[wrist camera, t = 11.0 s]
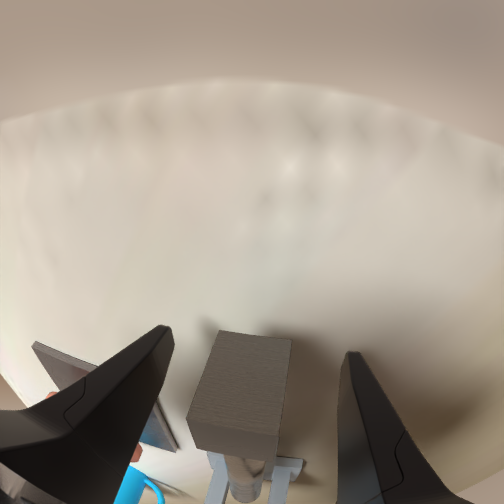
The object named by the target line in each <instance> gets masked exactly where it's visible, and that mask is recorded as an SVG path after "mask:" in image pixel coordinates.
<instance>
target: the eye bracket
mask: <svg viewBox="0 0 504 504" xmlns="http://www.w3.org/2000/svg"><path fill="white" fill-rule="evenodd" d="M278 441H279V436H278V440H277V444H276V448H275V453H274V457H273V462H266V465H265V470H264V476H263V480H271V479H272V483H271V489H270V494H269V499H268V504H286V498H287V492H288V485H289V481H292V482H295V480H296V478H297V477H298V475H299V473H300V471H301V469H302V464H303V459H295V458H285V457H276V453H277V447H278ZM207 456H208V459H209V462H210V465H211V468H212V469H214V472H213V475H212V479H211V482H210V485H209V489H208V492H207V496H206V499H205V502H204V504H225V501H226V497H227V493H228V489H229V486H230V485H229V480H228V476H227V471H226V466H225V461H224V456H223V454H219V453H214V452H210V451H207Z"/></svg>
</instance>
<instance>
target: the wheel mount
mask: <svg viewBox="0 0 504 504" xmlns="http://www.w3.org/2000/svg"><path fill="white" fill-rule="evenodd" d="M31 347H32V349H33V350H34V352H35V354H36V355H37V357H38V358H39V360H40V362H41V363H42V365H43V366H44V368H45V369H46V371H47V372H48V374H49V375H50V377H51V378H52V380H53V381H54V383H55V384H56V386H57V387H58V388H59V390H60V391H61V390H63V389H65V388H66V387H68V386H70V385H71V384H73V383H74V382H76V381H77V380H79V379H80V378H82V377H83V376H86V374H88V373H89V372H91V371H92V370H94V369H95V368H97V367H98V366H95V365H92V364H89V363H87V362H84V361H81V360H79V359H76V358H74V357H71V356H69V355H66V354H64V353H61V352H59V351H57V350H54V349H52V348H50V347H47V346H45V345H43V344H41V343H38V342H36V341H35V343H34V344H33V345H32V346H31ZM139 441H140V442H143V443H146V444H149V445H152V446H155V447H158V448H161V449H164V450H168V451H171V452H174V453H176V451H177V448H178V447H177V445H176V443H175V441H174V439H173V437H172V435H171V433H170V430H169V428H168V426H167V424H166V422H165V420H164V418H163V416H162V413H161V411H160V409H159V407H158V405H157V402H155V405H154V407H153V409H152V412H151V414H150V416H149V419H148V421H147V423H146V426H145V428H144V430H143V433H142V435H141V437H140V440H139Z"/></svg>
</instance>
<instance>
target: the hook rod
mask: <svg viewBox="0 0 504 504" xmlns="http://www.w3.org/2000/svg"><path fill="white" fill-rule="evenodd" d="M291 343H292V340H288V339H279V338H271V337H263V336H256V335H249V334H242V333H235V332H228V331H222V330H219V332H218V335H217V338H216V340H215V343H214V346H213V348H212V351H211V353H210V356H209V359H208V361H207V364H206V367H205V369H204V372H203V375H202V377H201V380H200V383H199V385H198V388H197V391H196V393H195V396H194V399H193V401H192V404H191V406H190V409H189V412H188V414H187V417H186V420H187V423H188V426H189V429H190V432H191V434H192V437H193V440H194V442H195V445H196V448H197V449H201V450H205V451H210V452H214V453H219V454H223V456H224V461H225V466H226V471H227V476H228V480H229V485H230V490H231V494H232V496H233V497H234V499H236V500H237V501H239V502H242V503H249V502H253V501H255V500H256V499H257V498H258V497H259V495H260V492H261V487H262V481H263V476H264V470H265V465H266V462H273V457H274V453H275V448H276V444H277V440H278V435H279V428H280V422H281V416H282V409H283V403H284V396H285V389H286V382H287V374H288V367H289V359H290V351H291Z"/></svg>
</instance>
